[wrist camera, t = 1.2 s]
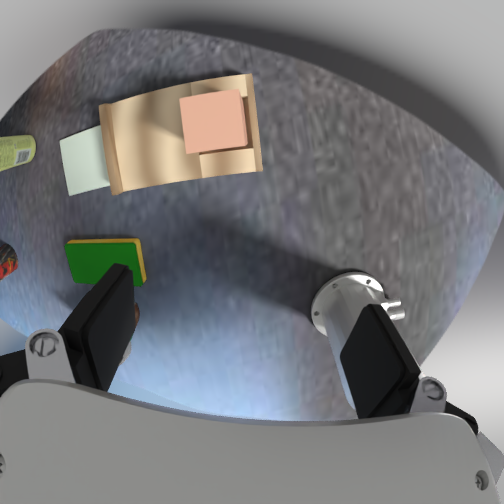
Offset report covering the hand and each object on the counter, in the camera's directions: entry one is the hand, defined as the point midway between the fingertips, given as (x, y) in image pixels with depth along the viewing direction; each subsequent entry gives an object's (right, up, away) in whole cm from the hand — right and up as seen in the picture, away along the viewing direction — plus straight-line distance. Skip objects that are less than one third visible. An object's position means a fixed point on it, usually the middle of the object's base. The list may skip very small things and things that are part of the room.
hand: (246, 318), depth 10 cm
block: (-3, +16, +16) cm, 22 cm away
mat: (-24, +16, +23) cm, 37 cm away
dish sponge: (-23, +2, +30) cm, 38 cm away
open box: (-9, +18, +22) cm, 29 cm away
